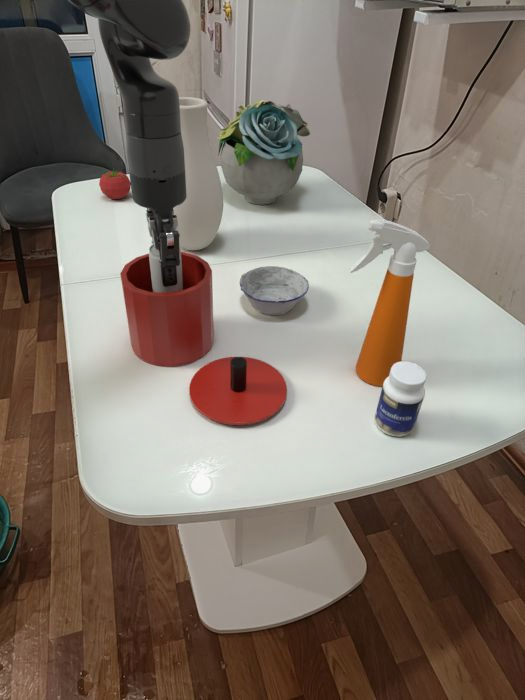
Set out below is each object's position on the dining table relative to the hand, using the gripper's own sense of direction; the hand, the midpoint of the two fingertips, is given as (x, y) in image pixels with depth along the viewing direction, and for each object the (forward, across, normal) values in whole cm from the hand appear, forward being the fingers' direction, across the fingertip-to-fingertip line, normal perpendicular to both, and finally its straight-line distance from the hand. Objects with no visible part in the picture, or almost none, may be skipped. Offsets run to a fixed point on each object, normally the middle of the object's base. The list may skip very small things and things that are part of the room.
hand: (166, 275), depth 80 cm
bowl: (+13, -6, +21) cm, 25 cm away
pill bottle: (+13, +28, +27) cm, 41 cm away
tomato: (+13, -66, -2) cm, 67 cm away
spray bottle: (+13, +17, +28) cm, 36 cm away
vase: (+13, -34, +11) cm, 38 cm away
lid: (+12, +16, +7) cm, 21 cm away
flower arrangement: (+13, -56, +35) cm, 67 cm away
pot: (+13, 0, 0) cm, 13 cm away
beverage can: (+8, 0, 0) cm, 8 cm away
